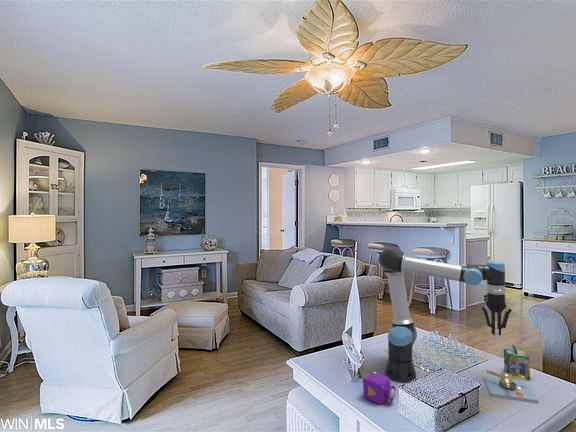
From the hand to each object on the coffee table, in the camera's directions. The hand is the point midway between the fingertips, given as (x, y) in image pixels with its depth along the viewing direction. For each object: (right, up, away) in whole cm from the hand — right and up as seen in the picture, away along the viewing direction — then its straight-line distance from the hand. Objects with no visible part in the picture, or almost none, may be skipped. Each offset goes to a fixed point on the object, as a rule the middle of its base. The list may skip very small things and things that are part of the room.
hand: (496, 341), depth 164 cm
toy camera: (-60, -21, -13) cm, 65 cm away
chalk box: (+16, -20, +8) cm, 27 cm away
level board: (+2, -20, -7) cm, 21 cm away
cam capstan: (0, -19, -6) cm, 20 cm away
